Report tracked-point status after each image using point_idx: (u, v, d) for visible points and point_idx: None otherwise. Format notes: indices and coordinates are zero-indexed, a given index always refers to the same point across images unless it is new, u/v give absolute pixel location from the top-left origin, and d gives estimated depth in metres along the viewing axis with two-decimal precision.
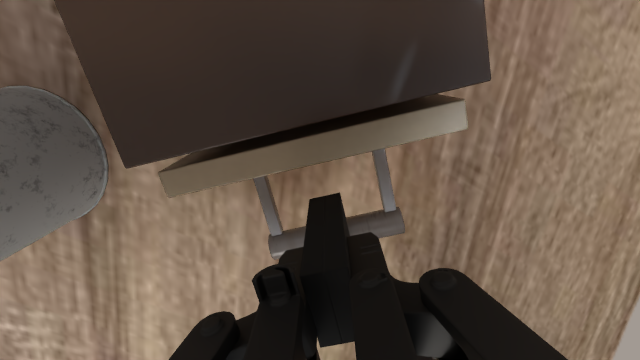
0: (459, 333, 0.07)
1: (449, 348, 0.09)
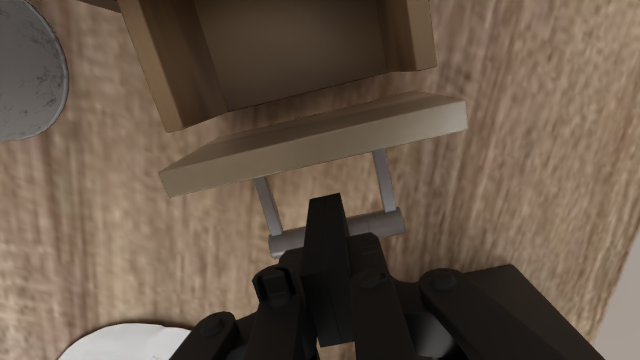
0: (459, 333, 0.07)
1: (449, 348, 0.09)
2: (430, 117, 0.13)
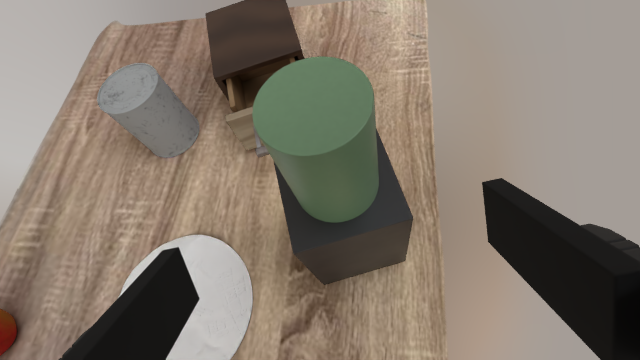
0: None
1: None
2: None
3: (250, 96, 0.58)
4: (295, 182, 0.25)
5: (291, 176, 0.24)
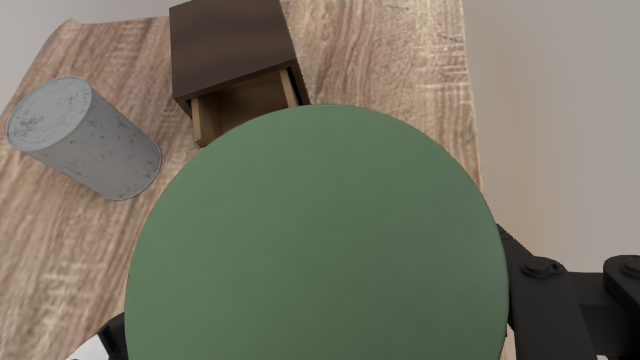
0: None
1: (632, 343, 0.08)
2: None
3: (228, 119, 0.44)
4: None
5: None
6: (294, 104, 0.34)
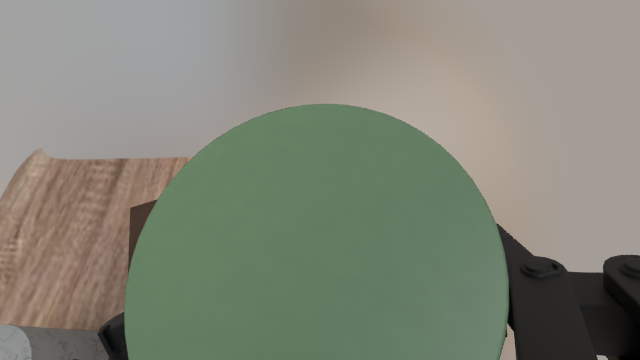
0: None
1: (632, 343, 0.08)
2: None
3: None
4: None
5: None
6: None
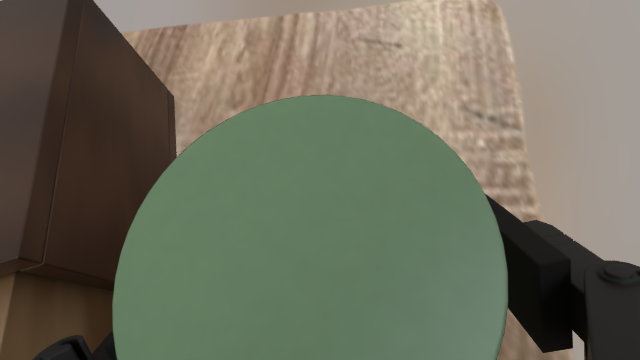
0: None
1: None
2: None
3: None
4: None
5: None
6: None
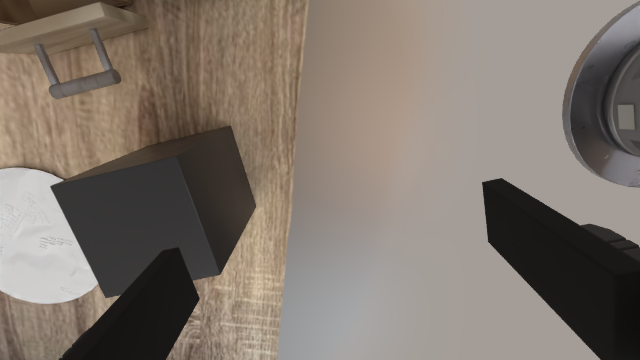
0: None
1: None
2: (86, 10, 0.30)
3: None
4: None
5: None
6: None
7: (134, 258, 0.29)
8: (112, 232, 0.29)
